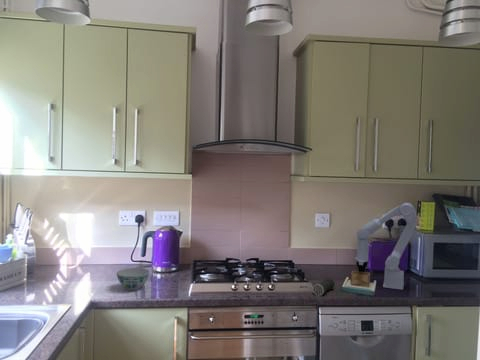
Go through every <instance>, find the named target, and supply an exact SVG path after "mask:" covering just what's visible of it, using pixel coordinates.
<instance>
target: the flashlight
mask: <svg viewBox="0 0 480 360" xmlns="http://www.w3.org/2000/svg"><path fill="white" fill-rule="evenodd" d="M333 288H335V281H334V279H333V278H325V279H324V280H323V281H320V282H318V283H316V284H314V285H313V287H312V292H313V294H314V296H319V297H321V296H323V295H324V294H325V293H326V292H328V291H330V290H332V289H333Z"/></svg>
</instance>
